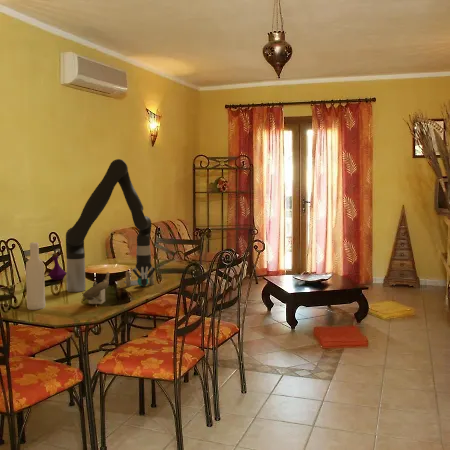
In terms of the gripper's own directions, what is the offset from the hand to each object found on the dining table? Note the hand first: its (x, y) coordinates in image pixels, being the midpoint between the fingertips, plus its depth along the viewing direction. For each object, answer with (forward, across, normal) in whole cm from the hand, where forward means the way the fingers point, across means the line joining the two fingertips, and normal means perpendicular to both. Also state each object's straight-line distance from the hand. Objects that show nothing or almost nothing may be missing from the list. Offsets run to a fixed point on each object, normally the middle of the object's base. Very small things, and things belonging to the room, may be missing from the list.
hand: (143, 285), depth 280 cm
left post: (+2, +6, -8) cm, 11 cm away
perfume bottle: (+2, +40, -43) cm, 59 cm away
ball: (-2, -1, -6) cm, 6 cm away
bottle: (+2, +56, +21) cm, 60 cm away
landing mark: (+2, 0, -16) cm, 16 cm away
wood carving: (+2, +28, +20) cm, 34 cm away
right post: (+2, -7, -8) cm, 11 cm away
